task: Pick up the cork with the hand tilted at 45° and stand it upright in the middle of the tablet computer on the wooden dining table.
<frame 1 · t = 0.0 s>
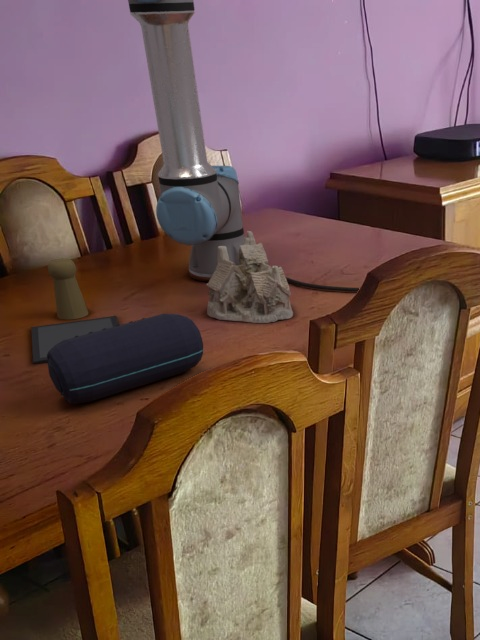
tablet computer: (77, 339, 158), on the table
cork: (73, 315, 171), on the table
portable speaker: (132, 387, 139), on the table
ceramic cottage: (251, 313, 169), on the table
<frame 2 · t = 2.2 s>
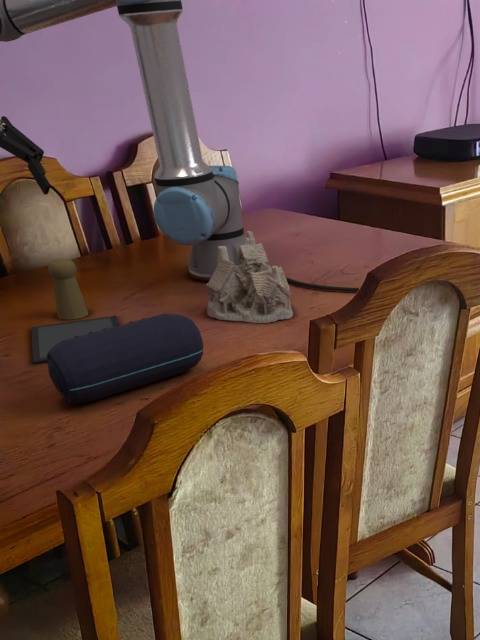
hand: (16, 195, 165), 22 cm above the table, tool tilted 40°, fingers open, 13 cm apart
nothing on the table moved.
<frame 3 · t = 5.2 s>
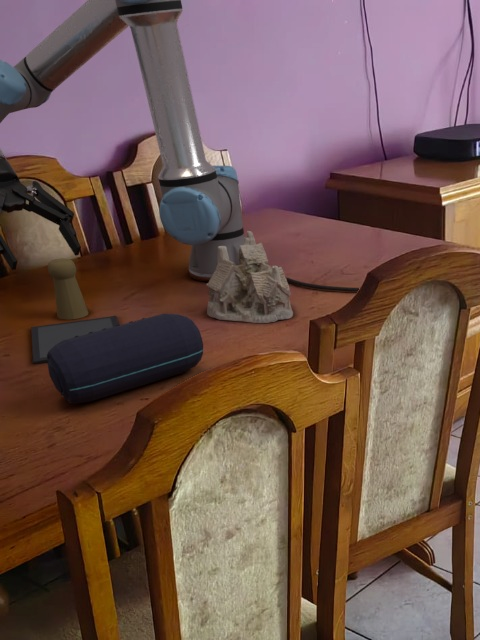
hand: (47, 258, 168), 10 cm above the table, tool tilted 45°, fingers open, 13 cm apart
nothing on the table moved.
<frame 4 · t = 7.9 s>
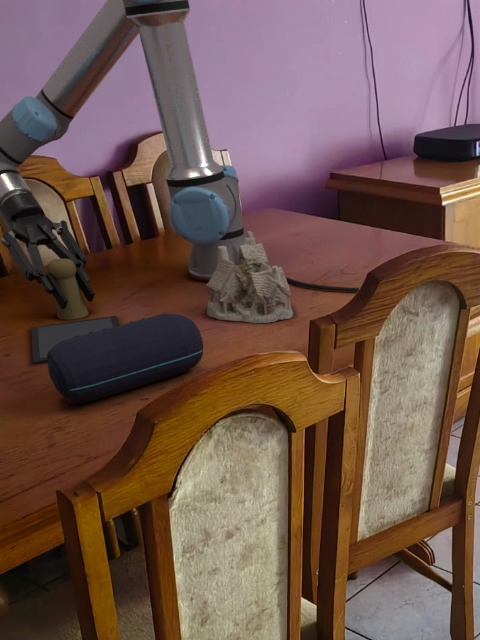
hand: (78, 301, 166), 3 cm above the table, tool tilted 45°, fingers closed on cork, 5 cm apart
cork: (73, 315, 171), on the table, touching gripper
everything else where it was.
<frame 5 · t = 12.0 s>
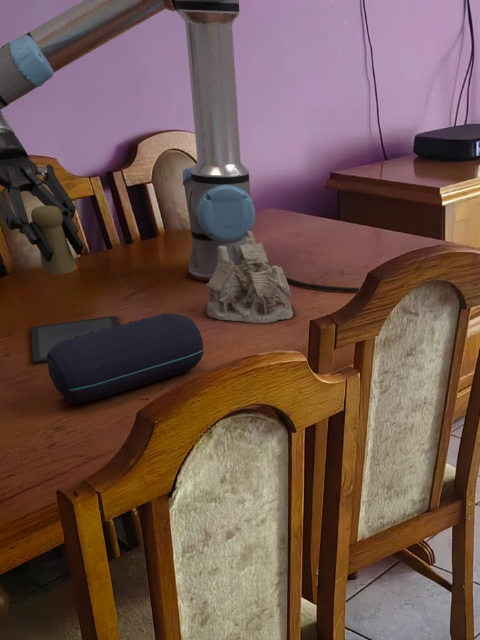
hand: (65, 253, 150), 16 cm above the table, tool tilted 45°, fingers closed on cork, 5 cm apart
cork: (60, 270, 154), point 12 cm above the table, touching gripper
everything else where it was.
when the fingers open (4 cm above the table, at t = 15.9 s): cork stays where it is, resting on tablet computer.
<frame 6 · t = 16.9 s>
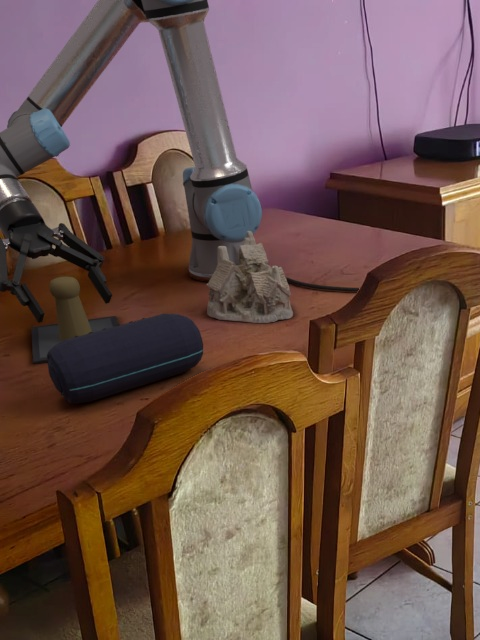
hand: (76, 308, 153), 6 cm above the table, tool tilted 45°, fingers open, 13 cm apart
cork: (76, 337, 158), resting on tablet computer
everything else where it was.
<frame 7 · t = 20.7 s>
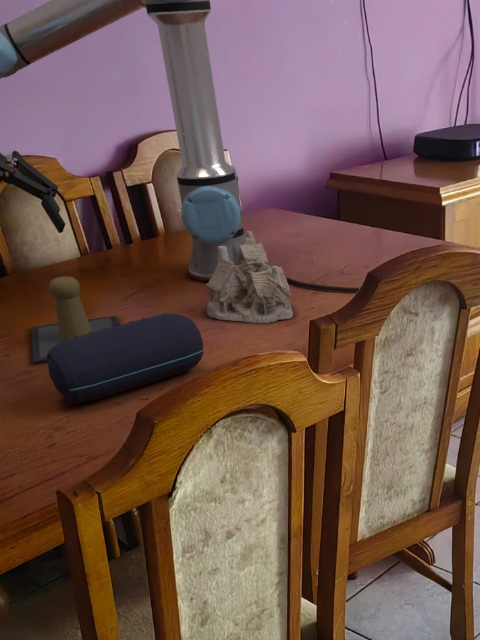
hand: (28, 236, 155), 17 cm above the table, tool tilted 45°, fingers open, 13 cm apart
nothing on the table moved.
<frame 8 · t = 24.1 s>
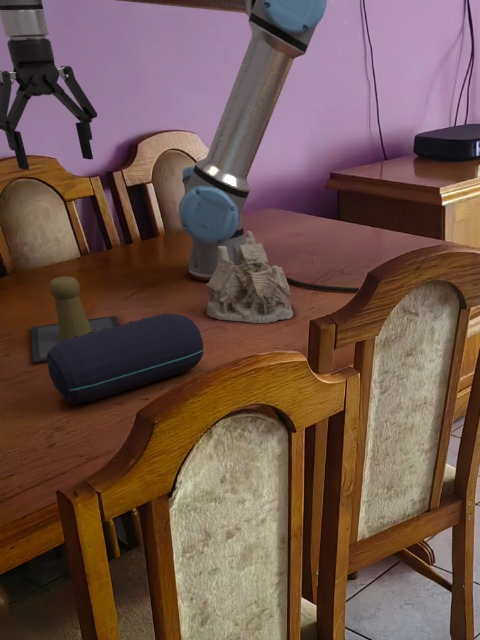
hand: (57, 163, 165), 27 cm above the table, tool pointing down, fingers open, 13 cm apart
nothing on the table moved.
at the end: cork inside the target area on the tablet computer (0.1 cm from its centre), point 0.4 cm above the tablet computer's base; cork tilted 0°; the gripper is holding nothing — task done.
